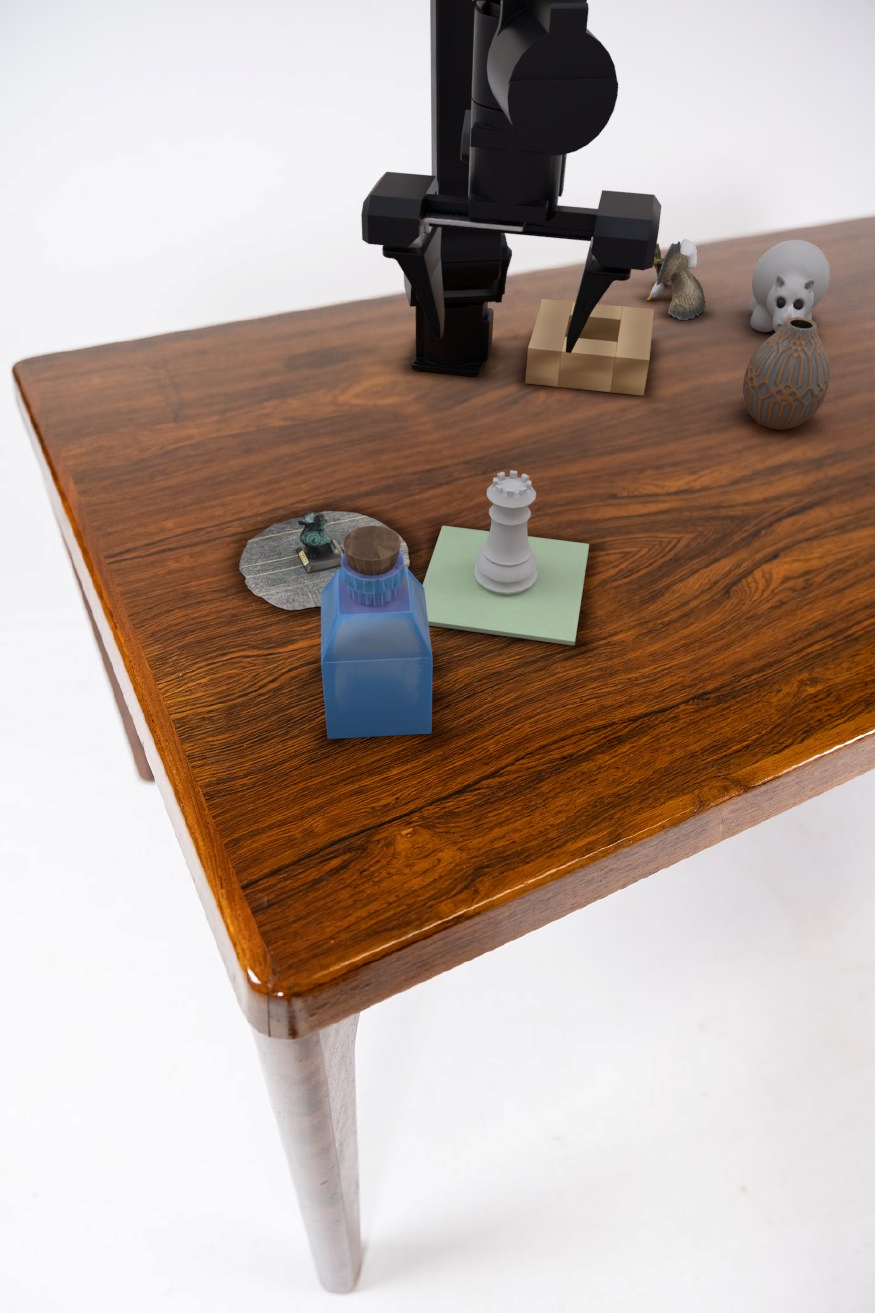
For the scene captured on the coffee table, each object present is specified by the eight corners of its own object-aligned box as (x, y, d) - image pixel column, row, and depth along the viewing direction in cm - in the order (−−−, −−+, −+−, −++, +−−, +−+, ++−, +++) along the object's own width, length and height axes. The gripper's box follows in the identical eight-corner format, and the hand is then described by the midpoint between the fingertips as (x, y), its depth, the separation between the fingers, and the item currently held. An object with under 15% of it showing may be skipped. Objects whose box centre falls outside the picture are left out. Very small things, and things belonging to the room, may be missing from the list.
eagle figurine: (612, 276, 109) (640, 294, 101) (653, 214, 106) (684, 228, 98) (666, 312, 112) (696, 333, 104) (706, 253, 109) (740, 270, 101)
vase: (819, 443, 86) (849, 345, 80) (736, 433, 87) (759, 336, 81) (813, 403, 91) (841, 309, 85) (735, 395, 92) (757, 301, 86)
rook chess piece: (544, 566, 72) (554, 469, 67) (527, 604, 69) (536, 506, 64) (484, 553, 73) (489, 457, 68) (465, 590, 70) (469, 492, 65)
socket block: (525, 383, 93) (527, 347, 91) (539, 332, 101) (542, 298, 98) (643, 395, 92) (649, 359, 89) (648, 343, 99) (654, 308, 97)
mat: (411, 623, 68) (411, 618, 68) (442, 529, 76) (442, 525, 76) (574, 646, 67) (575, 641, 66) (588, 548, 75) (589, 543, 74)
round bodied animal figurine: (736, 358, 97) (756, 270, 92) (744, 307, 106) (763, 224, 100) (813, 369, 96) (838, 280, 90) (815, 317, 104) (839, 233, 99)
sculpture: (206, 573, 72) (245, 467, 72) (284, 592, 80) (320, 497, 79) (332, 633, 67) (375, 519, 66) (402, 646, 75) (442, 545, 74)
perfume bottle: (327, 667, 65) (314, 511, 57) (423, 663, 65) (424, 507, 57) (327, 738, 60) (313, 580, 52) (431, 733, 61) (433, 575, 53)
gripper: (681, 73, 65) (643, 307, 76) (397, 53, 67) (399, 282, 78) (676, 126, 57) (634, 379, 68) (354, 101, 59) (364, 349, 70)
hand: (503, 343), depth 71 cm, fingers open, 9 cm apart
